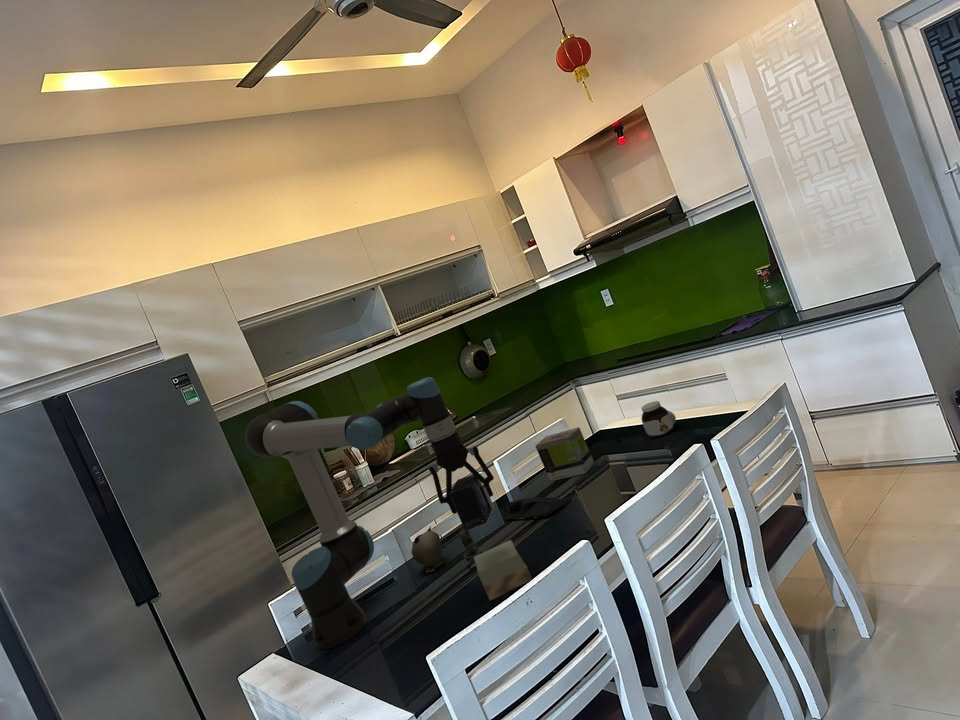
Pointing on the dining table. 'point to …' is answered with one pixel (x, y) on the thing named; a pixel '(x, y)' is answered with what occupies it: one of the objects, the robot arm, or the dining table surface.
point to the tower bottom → (508, 582)
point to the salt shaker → (469, 546)
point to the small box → (470, 502)
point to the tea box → (565, 454)
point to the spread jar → (657, 419)
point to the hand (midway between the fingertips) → (478, 515)
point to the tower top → (498, 563)
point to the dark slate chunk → (535, 507)
